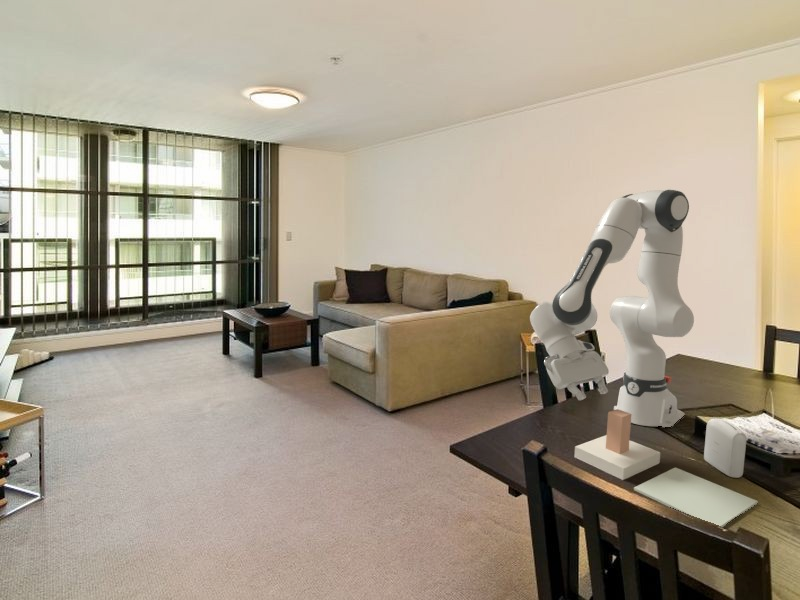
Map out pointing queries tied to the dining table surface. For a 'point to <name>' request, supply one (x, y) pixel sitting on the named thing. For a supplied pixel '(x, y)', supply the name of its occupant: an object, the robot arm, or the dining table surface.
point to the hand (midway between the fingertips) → (594, 396)
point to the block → (618, 431)
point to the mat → (696, 496)
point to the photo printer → (725, 447)
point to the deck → (617, 458)
